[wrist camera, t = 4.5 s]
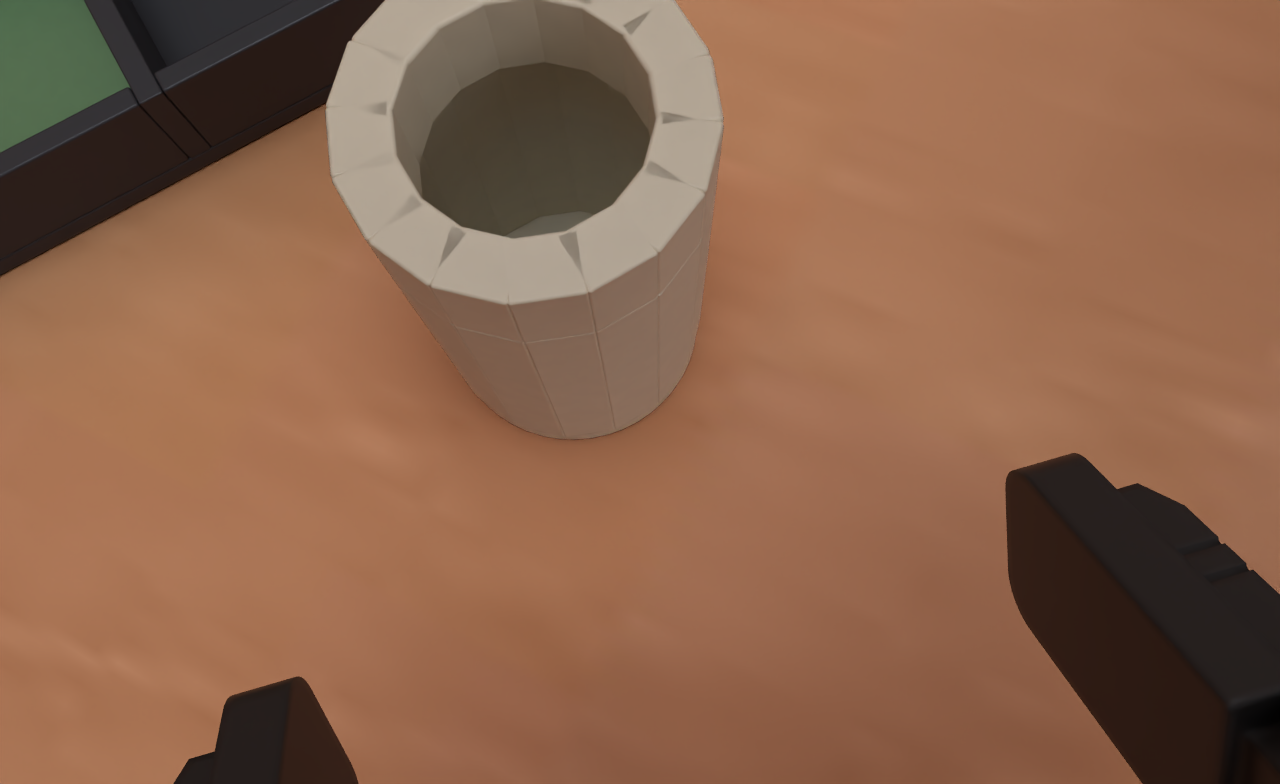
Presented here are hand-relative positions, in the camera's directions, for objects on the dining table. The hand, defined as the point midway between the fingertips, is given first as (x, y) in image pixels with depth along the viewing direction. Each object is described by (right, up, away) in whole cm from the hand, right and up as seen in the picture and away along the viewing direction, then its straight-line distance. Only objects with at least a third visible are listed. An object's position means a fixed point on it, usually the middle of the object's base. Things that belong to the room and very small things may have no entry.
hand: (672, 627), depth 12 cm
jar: (-2, +4, +15) cm, 16 cm away
